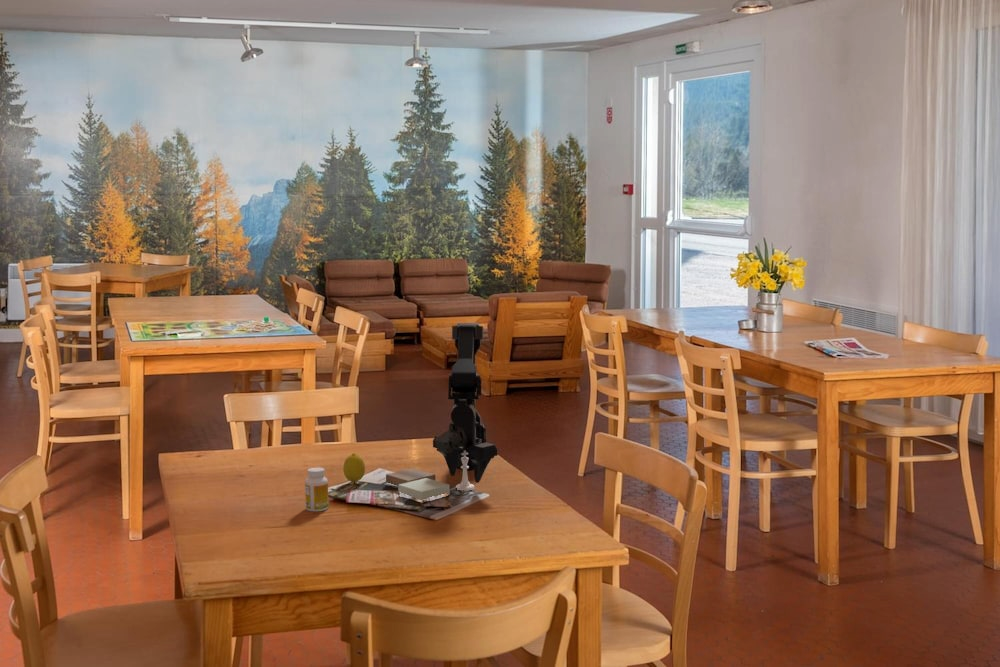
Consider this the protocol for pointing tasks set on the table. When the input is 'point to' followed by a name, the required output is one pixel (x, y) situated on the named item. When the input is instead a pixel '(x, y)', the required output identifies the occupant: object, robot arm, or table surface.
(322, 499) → the supplement bottle
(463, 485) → the chess piece
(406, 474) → the walnut slab
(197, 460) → the table surface
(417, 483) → the sage slab
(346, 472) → the lemon
